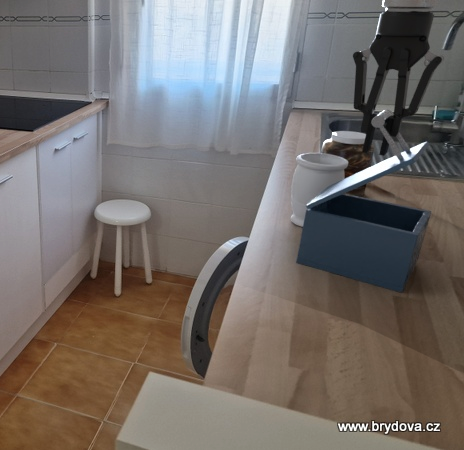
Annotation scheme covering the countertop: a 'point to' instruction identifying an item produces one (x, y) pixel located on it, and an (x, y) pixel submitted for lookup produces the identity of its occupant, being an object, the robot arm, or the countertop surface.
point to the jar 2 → (350, 154)
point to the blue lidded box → (364, 239)
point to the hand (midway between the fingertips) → (374, 152)
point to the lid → (377, 170)
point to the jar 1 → (313, 180)
